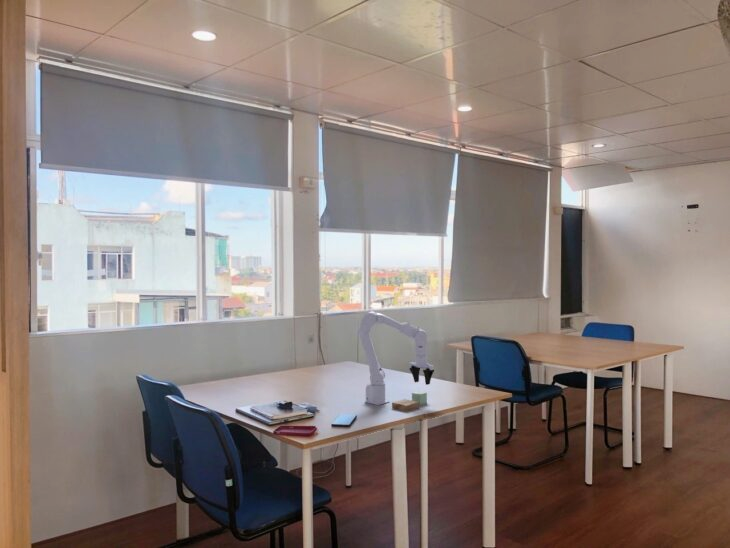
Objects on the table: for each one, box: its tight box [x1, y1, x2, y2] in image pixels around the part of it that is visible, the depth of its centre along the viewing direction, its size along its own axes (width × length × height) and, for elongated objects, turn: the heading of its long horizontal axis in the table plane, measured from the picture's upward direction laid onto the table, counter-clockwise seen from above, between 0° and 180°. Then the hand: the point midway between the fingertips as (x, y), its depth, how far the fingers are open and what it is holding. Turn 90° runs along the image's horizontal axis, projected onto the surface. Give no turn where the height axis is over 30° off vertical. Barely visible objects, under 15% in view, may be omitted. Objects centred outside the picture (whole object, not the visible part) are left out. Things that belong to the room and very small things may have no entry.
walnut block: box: [391, 398, 421, 413], centre depth 269 cm, size 9×9×3 cm
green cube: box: [411, 390, 428, 406], centre depth 278 cm, size 5×5×5 cm
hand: (422, 383), depth 277 cm, fingers open, 7 cm apart
